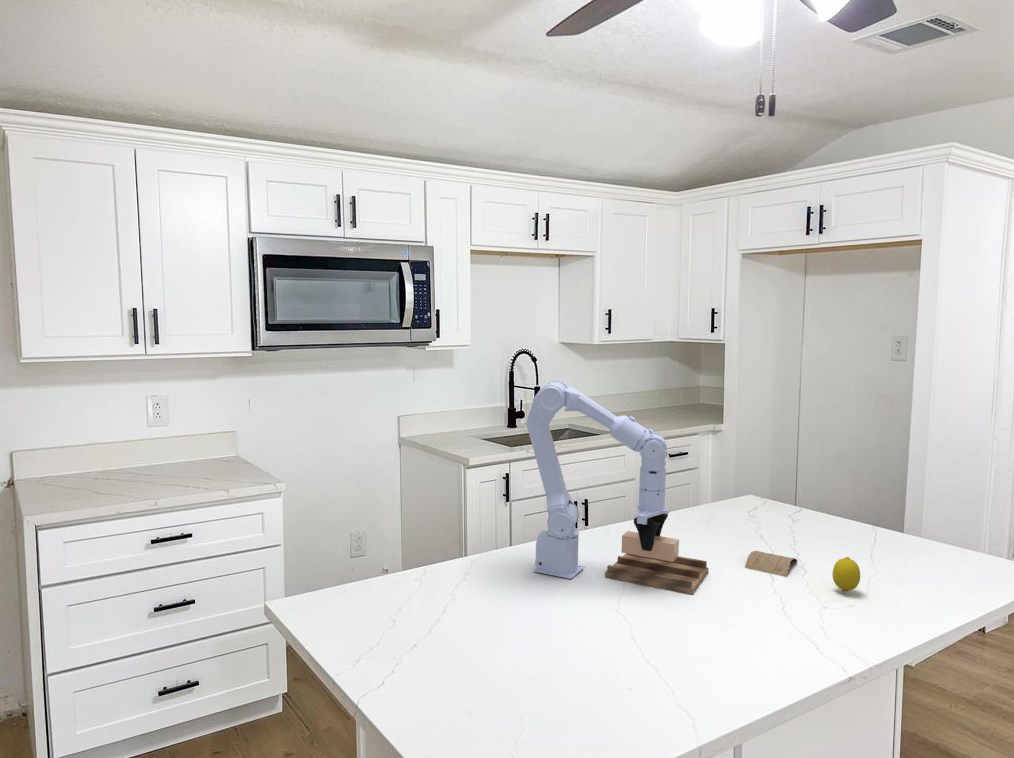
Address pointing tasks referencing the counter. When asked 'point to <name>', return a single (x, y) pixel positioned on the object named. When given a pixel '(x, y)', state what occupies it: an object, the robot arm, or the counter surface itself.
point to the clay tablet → (768, 563)
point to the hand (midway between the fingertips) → (649, 547)
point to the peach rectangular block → (661, 548)
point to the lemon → (846, 574)
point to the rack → (660, 572)
